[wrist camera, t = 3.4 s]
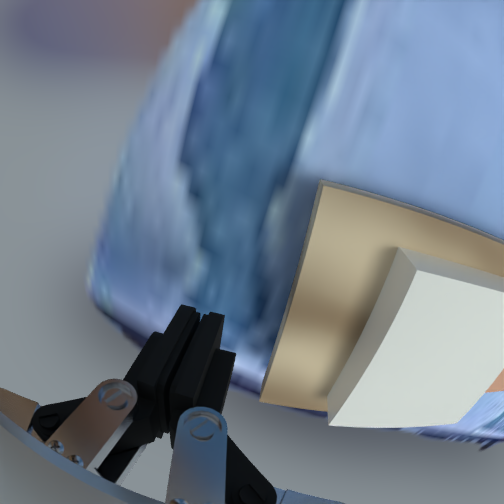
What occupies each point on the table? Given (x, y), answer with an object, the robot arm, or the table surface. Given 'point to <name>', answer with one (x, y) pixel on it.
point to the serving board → (354, 283)
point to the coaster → (423, 347)
